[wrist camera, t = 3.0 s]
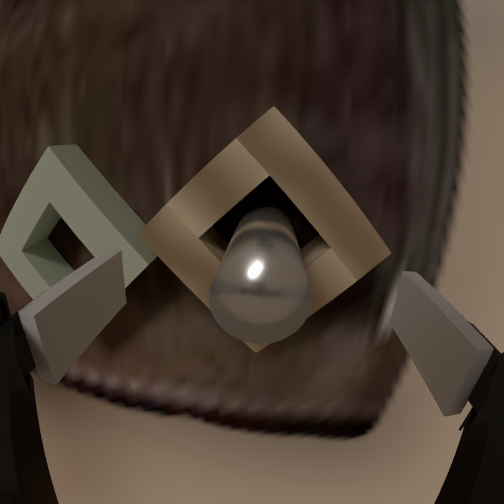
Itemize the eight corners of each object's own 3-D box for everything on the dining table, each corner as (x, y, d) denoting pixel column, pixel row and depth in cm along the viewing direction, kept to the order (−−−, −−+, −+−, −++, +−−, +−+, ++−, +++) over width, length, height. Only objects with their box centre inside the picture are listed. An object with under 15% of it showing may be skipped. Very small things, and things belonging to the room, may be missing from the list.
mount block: (273, 114, 21) (274, 106, 17) (373, 237, 23) (391, 253, 19) (157, 220, 24) (137, 234, 20) (258, 325, 26) (256, 353, 22)
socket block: (76, 144, 22) (48, 146, 18) (166, 247, 24) (148, 264, 21) (19, 235, 25) (-6, 247, 21) (92, 322, 27) (73, 344, 24)
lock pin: (268, 190, 22) (265, 230, 11) (303, 230, 23) (331, 306, 12) (228, 225, 23) (188, 295, 12) (263, 263, 24) (255, 358, 13)
